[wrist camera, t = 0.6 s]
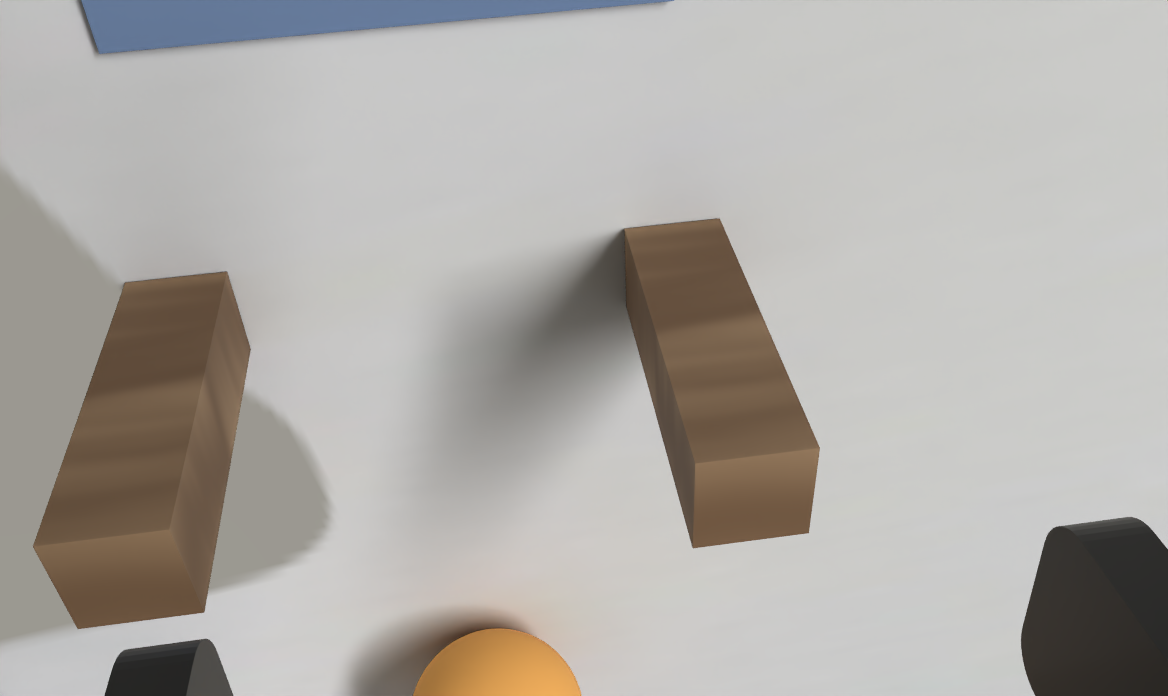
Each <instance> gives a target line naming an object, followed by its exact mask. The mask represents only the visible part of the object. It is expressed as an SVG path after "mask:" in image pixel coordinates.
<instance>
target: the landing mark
mask: <svg viewBox="0 0 1168 696" xmlns="http://www.w3.org/2000/svg"><path fill="white" fill-rule="evenodd" d="M81 1H82V4H83V7H84V10H85V13H86V16H87V19H88V22H89V25H90V28H91V31H92V34H93V37H94V39H95V42H96V45H97V48H98V51H99V54H102V53H113V52H124V51H135V50H146V49H156V48H167V47H178V46H189V45H200V44H211V43H222V42H232V41H243V40H254V39H265V38H276V37H287V36H297V35H308V34H319V33H330V32H341V31H352V30H363V29H373V28H384V27H395V26H406V25H417V24H428V23H438V22H449V21H460V20H471V19H482V18H493V17H504V16H514V15H525V14H536V13H547V12H558V11H569V10H579V9H590V8H601V7H612V6H623V5H634V4H645V3H655V2H666V1H674V0H81Z"/></svg>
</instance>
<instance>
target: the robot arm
mask: <svg viewBox="0 0 1168 696" xmlns="http://www.w3.org/2000/svg"><path fill="white" fill-rule="evenodd" d="M1021 649H1022V657H1023V662H1024V666H1025V670H1026V674H1027V677H1028V680H1029V683H1030V685H1031V687H1032V690H1033V692H1034V694H1035V696H1168V549H1167V548H1166V547H1165V545H1164V544H1163V543H1162V542H1161V540H1160V539H1159V538H1158V537H1157V536H1156V534H1155V533H1154V532H1153V531H1152V530H1151V529H1150V527H1149V526H1148V525H1146V524H1145V523H1144V522H1143V521H1141V520H1139V519H1137V518H1133V517H1125V518H1118V519H1110V520H1103V521H1095V522H1088V523H1081V524H1073V525H1066V526H1059V527H1055V528H1053V529H1052V530H1051V531H1050V532H1049V534H1048V535H1047V537H1046V540H1045V543H1044V547H1043V551H1042V555H1041V558H1040V562H1039V566H1038V570H1037V574H1036V578H1035V581H1034V585H1033V589H1032V593H1031V597H1030V601H1029V604H1028V608H1027V612H1026V616H1025V620H1024V624H1023V628H1022V634H1021ZM105 696H233V693H232V691H231V688H230V685H229V683H228V680H227V677H226V674H225V672H224V669H223V666H222V664H221V661H220V658H219V656H218V653H217V651H216V648H215V646H214V645H213V643H212V642H211V641H210V640H208V639H201V640H194V641H187V642H179V643H172V644H164V645H157V646H150V647H142V648H135V649H128V650H124V651H123V652H121V653H120V654H119V656H118V657H117V659H116V661H115V663H114V666H113V669H112V672H111V675H110V678H109V682H108V685H107V689H106V692H105Z"/></svg>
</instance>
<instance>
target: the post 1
mask: <svg viewBox="0 0 1168 696" xmlns="http://www.w3.org/2000/svg"><path fill="white" fill-rule="evenodd" d="M250 350H251V349H250V346H249V342H248V339H247V336H246V332H245V329H244V326H243V323H242V319H241V316H240V313H239V309H238V306H237V303H236V299H235V296H234V293H233V290H232V286H231V283H230V280H229V276H228V273H227V272H220V273H211V274H202V275H193V276H183V277H174V278H165V279H156V280H146V281H137V282H128V283H125V285H124V288H123V290H122V293H121V296H120V299H119V302H118V305H117V308H116V310H115V313H114V316H113V319H112V322H111V325H110V328H109V331H108V334H107V336H106V339H105V342H104V345H103V348H102V350H101V353H100V356H99V359H98V362H97V365H96V368H95V371H94V373H93V376H92V379H91V382H90V385H89V388H88V391H87V393H86V396H85V399H84V402H83V405H82V408H81V411H80V414H79V416H78V419H77V422H76V425H75V428H74V431H73V433H72V436H71V439H70V442H69V445H68V448H67V451H66V453H65V456H64V460H63V462H62V465H61V468H60V471H59V473H58V477H57V479H56V482H55V485H54V488H53V491H52V494H51V496H50V499H49V502H48V505H47V508H46V511H45V514H44V516H43V519H42V522H41V525H40V528H39V531H38V534H37V536H36V539H35V542H34V545H33V548H34V549H35V551H36V553H37V555H38V557H39V559H40V561H41V562H42V564H43V566H44V568H45V569H46V571H47V573H48V575H49V577H50V579H51V581H52V582H53V584H54V586H55V588H56V589H57V592H58V593H59V595H60V597H61V599H62V601H63V603H64V604H65V606H66V608H67V610H68V612H69V614H70V615H71V617H72V619H73V621H74V623H75V625H76V626H77V628H78V629H82V628H90V627H97V626H105V625H112V624H120V623H128V622H135V621H143V620H150V619H158V618H166V617H173V616H181V615H189V614H196V613H204V611H205V605H206V599H207V594H208V588H209V582H210V577H211V571H212V565H213V560H214V554H215V548H216V543H217V537H218V531H219V526H220V520H221V514H222V508H223V503H224V497H225V491H226V486H227V480H228V475H229V469H230V463H231V458H232V451H233V446H234V441H235V435H236V429H237V423H238V417H239V412H240V407H241V401H242V395H243V390H244V384H245V378H246V373H247V367H248V361H249V356H250Z"/></svg>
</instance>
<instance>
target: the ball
mask: <svg viewBox="0 0 1168 696" xmlns="http://www.w3.org/2000/svg"><path fill="white" fill-rule="evenodd" d="M413 696H581V691H580V688H579V686H578V683H577V681H576V678H575V676H574V674H573V672H572V671H571V669H570V667H569V666H568V665H567V663H566V662H565V661H564V659H563V658H562V657H561V656H560V655H559V654H558V653H557V652H556V651H555V650H554V649H553V648H552V647H550V646H549V645H548V644H546V643H545V642H544V641H542V640H540V639H538V638H536V637H534V636H532V635H530V634H527V633H525V632H521V631H517V630H512V629H503V628H494V629H485V630H480V631H476V632H473V633H470V634H468V635H465V636H463V637H461V638H459V639H457V640H455V641H454V642H452V643H451V644H449V645H448V646H446V647H445V648H444V649H443V650H442V651H440V652H439V653H438V654H437V655H436V656H435V657H434V659H433V660H432V661H431V662H430V663H429V665H428V666H427V667H426V669H425V670H424V672H423V674H422V675H421V677H420V679H419V681H418V683H417V686H416V688H415V691H414V694H413Z"/></svg>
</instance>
